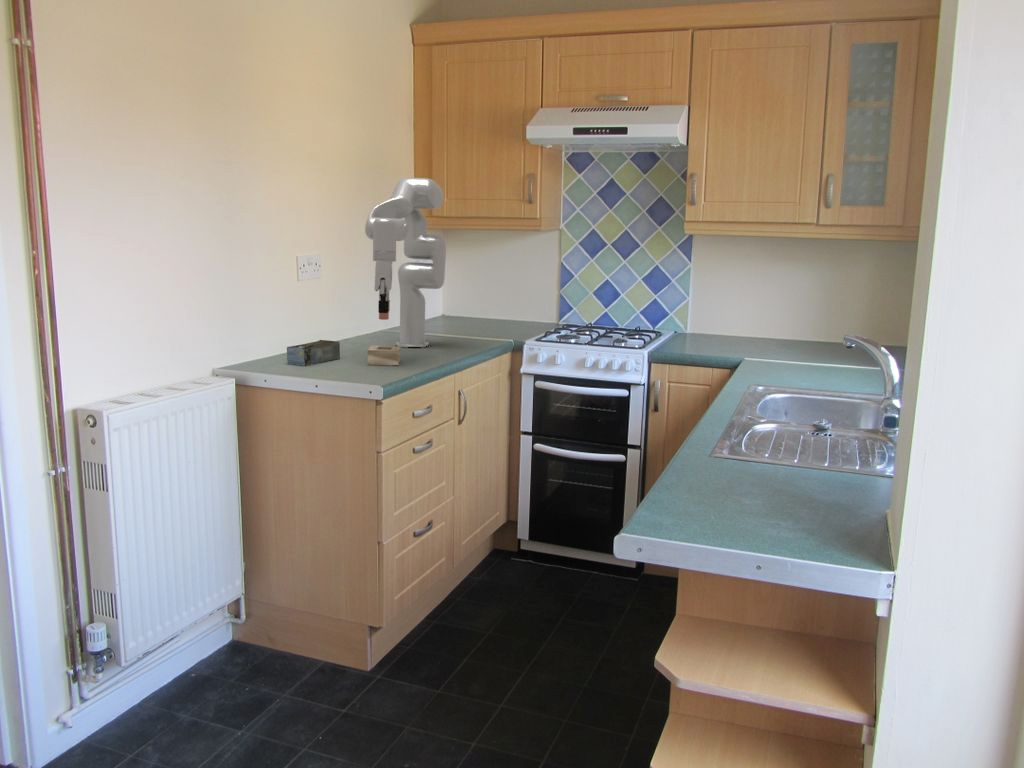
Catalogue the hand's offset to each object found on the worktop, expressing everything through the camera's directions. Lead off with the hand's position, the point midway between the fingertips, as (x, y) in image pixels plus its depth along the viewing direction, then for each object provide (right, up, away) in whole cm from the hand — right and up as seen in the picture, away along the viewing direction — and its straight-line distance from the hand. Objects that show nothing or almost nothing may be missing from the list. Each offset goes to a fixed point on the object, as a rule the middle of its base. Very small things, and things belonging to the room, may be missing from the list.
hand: (383, 311), depth 287 cm
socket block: (0, -17, +3) cm, 17 cm away
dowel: (0, -2, 0) cm, 2 cm away
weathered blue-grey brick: (-24, -17, +2) cm, 29 cm away
